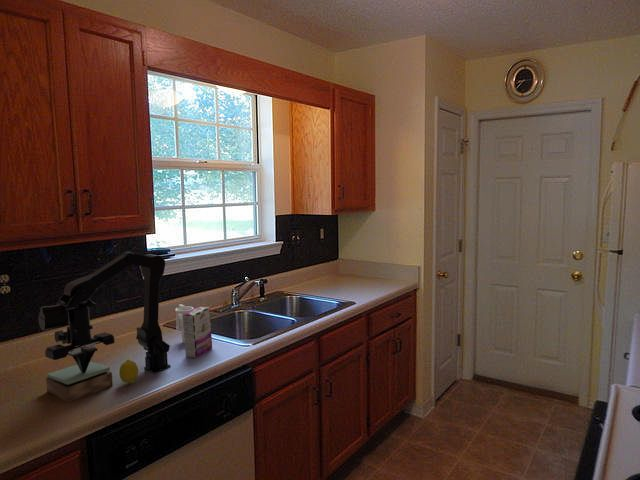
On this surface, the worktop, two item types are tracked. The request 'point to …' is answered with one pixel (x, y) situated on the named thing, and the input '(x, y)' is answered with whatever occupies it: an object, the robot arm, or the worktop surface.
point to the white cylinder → (181, 318)
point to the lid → (77, 373)
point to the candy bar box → (197, 332)
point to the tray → (79, 387)
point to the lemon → (128, 371)
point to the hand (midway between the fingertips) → (83, 372)
